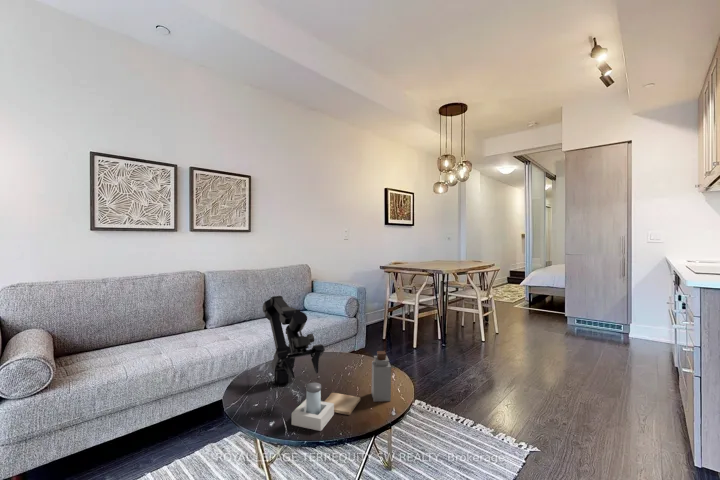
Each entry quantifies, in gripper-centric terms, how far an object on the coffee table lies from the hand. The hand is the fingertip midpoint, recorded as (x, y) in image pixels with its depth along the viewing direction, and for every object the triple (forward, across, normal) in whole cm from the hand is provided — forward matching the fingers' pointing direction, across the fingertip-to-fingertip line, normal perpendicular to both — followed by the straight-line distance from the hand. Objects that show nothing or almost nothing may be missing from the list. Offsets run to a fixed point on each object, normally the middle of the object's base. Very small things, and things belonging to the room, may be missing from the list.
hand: (305, 375), depth 126 cm
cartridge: (+14, 0, +4) cm, 15 cm away
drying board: (+11, +13, +7) cm, 19 cm away
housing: (+14, 0, +4) cm, 15 cm away
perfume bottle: (+13, +30, +6) cm, 33 cm away
